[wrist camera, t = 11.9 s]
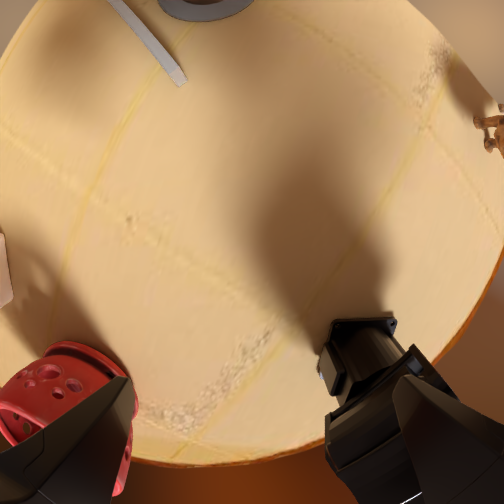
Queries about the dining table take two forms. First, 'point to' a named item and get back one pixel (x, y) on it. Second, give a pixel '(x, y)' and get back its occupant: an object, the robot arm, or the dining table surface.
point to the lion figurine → (500, 121)
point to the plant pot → (58, 393)
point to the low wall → (150, 42)
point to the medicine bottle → (4, 275)
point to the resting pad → (203, 9)
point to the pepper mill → (202, 2)
